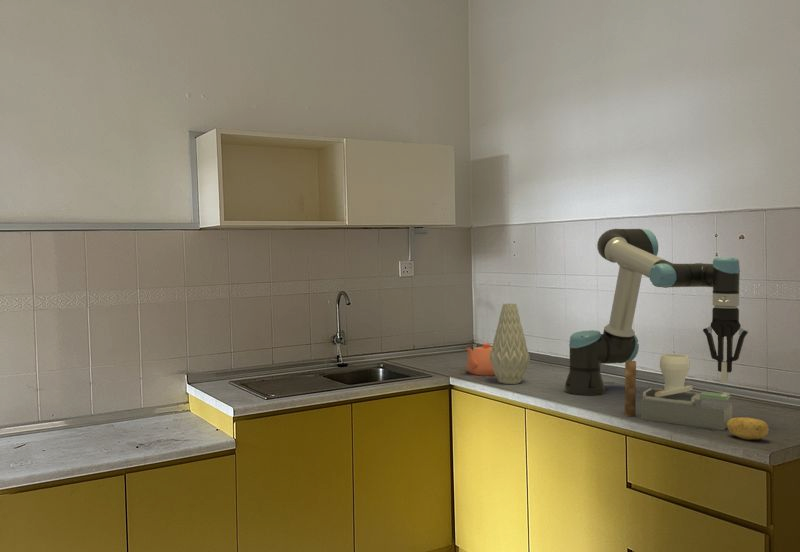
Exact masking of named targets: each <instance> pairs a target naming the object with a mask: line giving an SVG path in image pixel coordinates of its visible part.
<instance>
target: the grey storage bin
mask: <svg viewBox="0 0 800 552" xmlns="http://www.w3.org/2000/svg"><path fill="white" fill-rule="evenodd" d="M662 390H664V391H665V389H664V388H663V389H662V388H653V387H650V388H648V389H646V390H644V391H642V400H640V420H643V421H649V422H650V421H652V422H656V423H657V422H659V423H665V424H671V425H672V424H673V425H680V426H689V427H696V428H702V429H704V428H705V429H710V430H717V431H718V430H719V431H725V430H726V429H728V428H727V423H728V421H729V420H730V419H732V418H733V403H732V402H726V401H724V402H722V401H717V400H708V399H707V400H705V399H702V398H699V394H700V393H701V392H691V391H687V392H682V393H677V394H672V395H667V396H662V397H655V394H654V393H656V392H658V391H662Z"/></svg>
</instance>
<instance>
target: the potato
mask: <svg viewBox="0 0 800 552" xmlns="http://www.w3.org/2000/svg"><path fill="white" fill-rule="evenodd" d="M726 429H728V431H729V432H730V433H731V434H732V435H733V436H735V437H737V438H739V439H743V440H761V439H762V438H764V437H766V436H767V435H769V430H770V429H769V425H768V424H767V422H765V421H764V420H761V419H758V418H753V417H741V416H740V417H732V419H730V420H729V421H728V423H727V428H726Z"/></svg>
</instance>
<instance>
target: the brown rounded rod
mask: <svg viewBox="0 0 800 552" xmlns="http://www.w3.org/2000/svg"><path fill="white" fill-rule="evenodd" d="M624 364H625V366H624V370H625V371H624V372H625V373H624V375H625V376H624V416H625V417H636V410H637V409H636V408H637V407H636V401H637V399H636V397H637V396H636V394H637V387H636V386H637V361H634V360H632V361H625V363H624Z"/></svg>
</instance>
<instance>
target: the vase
mask: <svg viewBox="0 0 800 552" xmlns="http://www.w3.org/2000/svg"><path fill="white" fill-rule="evenodd" d="M491 347H492V349H491V352H490V358H489V360H490V361H491V363H492V368H493V370H494V373H495V375H494V376H495V377H496V378H497V381H498V383H500V384H502V385H503V384H504V385H517V384H521V382H522V379H523V378H524V375H525V373H526V371H527V368H528V363H530V360H531V359H530V354H529V350H528V347H527V340H526V338H525V333H524V329H523V326H522V323H521V318H520V314H519V309H518V306H517V303H502V306H501V311H500V315H499V319H498V323H497V327H496V330H495V335H494V338H493V342H492V346H491Z"/></svg>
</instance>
